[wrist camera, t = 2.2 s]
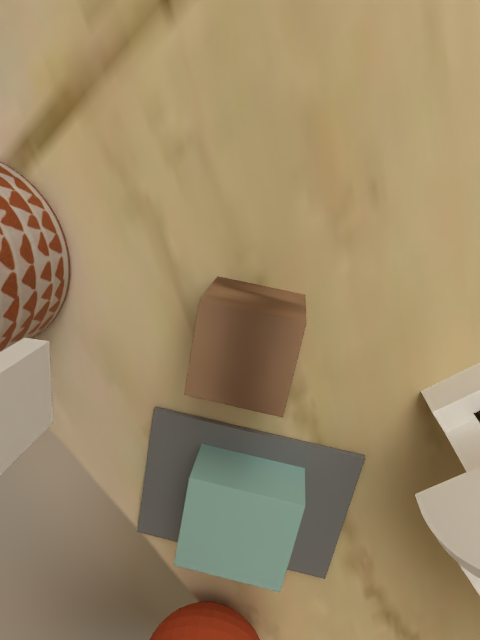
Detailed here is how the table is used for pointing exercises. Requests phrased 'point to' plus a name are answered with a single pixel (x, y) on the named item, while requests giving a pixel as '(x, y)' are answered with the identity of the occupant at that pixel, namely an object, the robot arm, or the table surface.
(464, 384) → the tape dispenser
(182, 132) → the table surface
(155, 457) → the build mat
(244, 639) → the tomato
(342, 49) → the table surface
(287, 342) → the walnut block
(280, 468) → the teal base block
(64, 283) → the planter
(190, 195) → the table surface
